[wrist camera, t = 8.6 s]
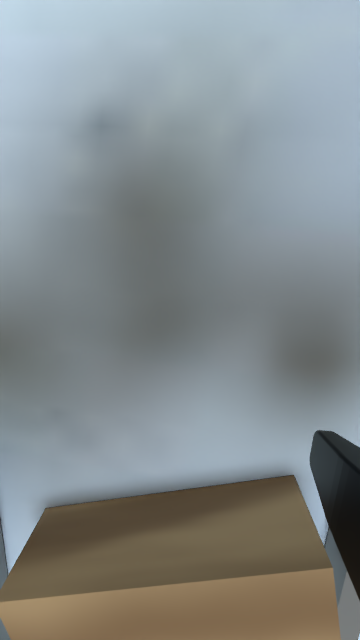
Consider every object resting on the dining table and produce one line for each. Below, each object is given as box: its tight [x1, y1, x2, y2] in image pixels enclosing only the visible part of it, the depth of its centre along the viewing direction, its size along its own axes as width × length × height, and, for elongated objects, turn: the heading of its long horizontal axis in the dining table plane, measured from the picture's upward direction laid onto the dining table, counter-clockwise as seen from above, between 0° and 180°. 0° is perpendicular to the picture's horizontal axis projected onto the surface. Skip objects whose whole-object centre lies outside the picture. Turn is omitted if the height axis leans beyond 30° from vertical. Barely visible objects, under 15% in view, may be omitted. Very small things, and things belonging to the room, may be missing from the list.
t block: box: [0, 475, 341, 640], centre depth 14 cm, size 11×12×4 cm
